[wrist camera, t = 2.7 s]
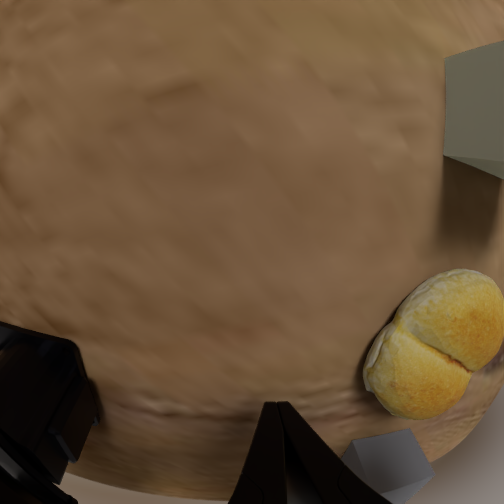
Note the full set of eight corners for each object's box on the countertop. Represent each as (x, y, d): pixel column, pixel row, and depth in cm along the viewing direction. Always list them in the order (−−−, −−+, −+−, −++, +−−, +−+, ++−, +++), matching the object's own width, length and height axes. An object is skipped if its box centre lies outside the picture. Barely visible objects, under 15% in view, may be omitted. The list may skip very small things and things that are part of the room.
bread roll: (496, 302, 14) (534, 331, 10) (409, 404, 15) (434, 445, 12) (445, 227, 12) (503, 253, 8) (330, 367, 14) (355, 425, 10)
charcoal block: (331, 472, 17) (345, 521, 13) (352, 439, 16) (373, 495, 11) (384, 461, 18) (402, 504, 13) (409, 427, 16) (435, 474, 12)
